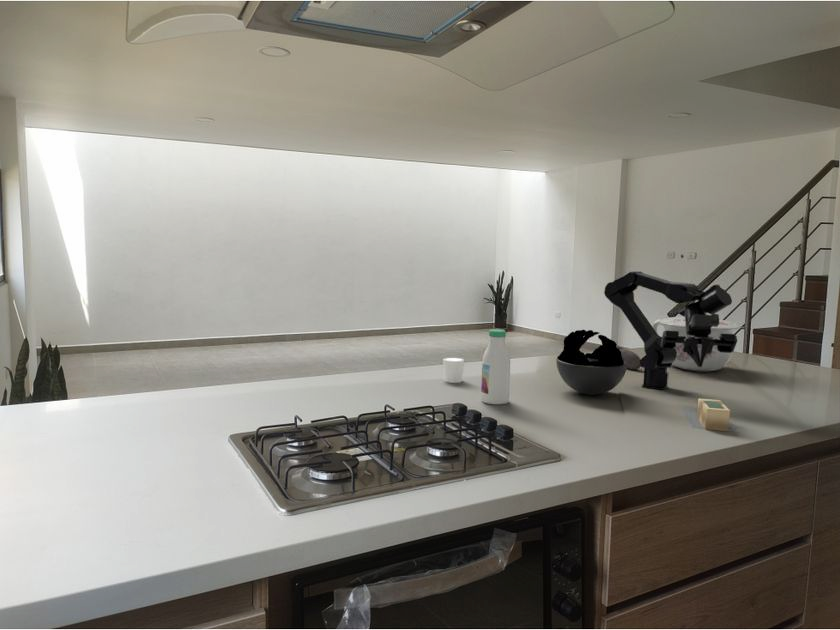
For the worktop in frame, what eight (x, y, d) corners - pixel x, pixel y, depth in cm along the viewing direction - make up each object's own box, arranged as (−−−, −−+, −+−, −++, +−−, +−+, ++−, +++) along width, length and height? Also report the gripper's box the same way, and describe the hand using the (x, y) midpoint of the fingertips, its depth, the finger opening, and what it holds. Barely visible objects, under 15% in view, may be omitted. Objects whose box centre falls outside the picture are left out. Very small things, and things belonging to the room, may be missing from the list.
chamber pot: (753, 377, 201) (758, 317, 198) (673, 375, 201) (677, 315, 199) (713, 361, 228) (718, 308, 226) (643, 359, 229) (646, 307, 226)
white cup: (439, 381, 184) (439, 360, 183) (446, 377, 191) (447, 356, 190) (460, 384, 182) (460, 362, 181) (466, 379, 188) (467, 358, 187)
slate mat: (681, 410, 157) (681, 409, 157) (722, 413, 154) (722, 412, 154) (693, 429, 140) (693, 427, 140) (739, 433, 138) (739, 431, 138)
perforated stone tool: (645, 371, 207) (646, 352, 206) (634, 372, 205) (635, 352, 204) (615, 363, 221) (616, 345, 220) (604, 364, 218) (605, 345, 218)
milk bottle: (511, 399, 164) (514, 329, 162) (506, 406, 157) (508, 332, 155) (484, 396, 167) (486, 327, 165) (478, 403, 160) (480, 331, 157)
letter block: (698, 398, 148) (706, 408, 139) (720, 399, 147) (729, 410, 137) (696, 417, 149) (705, 429, 139) (718, 419, 148) (728, 431, 138)
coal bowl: (558, 383, 185) (561, 324, 183) (625, 389, 179) (629, 328, 177) (550, 398, 167) (553, 333, 165) (625, 406, 160) (629, 338, 158)
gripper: (665, 301, 165) (667, 346, 155) (738, 304, 160) (745, 351, 150) (659, 326, 173) (662, 369, 164) (729, 329, 168) (735, 375, 159)
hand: (700, 366), depth 159 cm, fingers closed
